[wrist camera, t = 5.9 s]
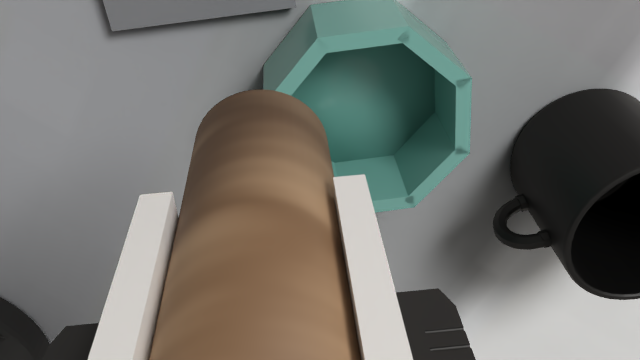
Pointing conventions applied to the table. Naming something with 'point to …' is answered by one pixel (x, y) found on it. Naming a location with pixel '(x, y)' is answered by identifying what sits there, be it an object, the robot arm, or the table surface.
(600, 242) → the mug
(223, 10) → the coaster
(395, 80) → the teal octagonal bowl
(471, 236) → the table surface
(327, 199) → the dowel
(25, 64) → the table surface
